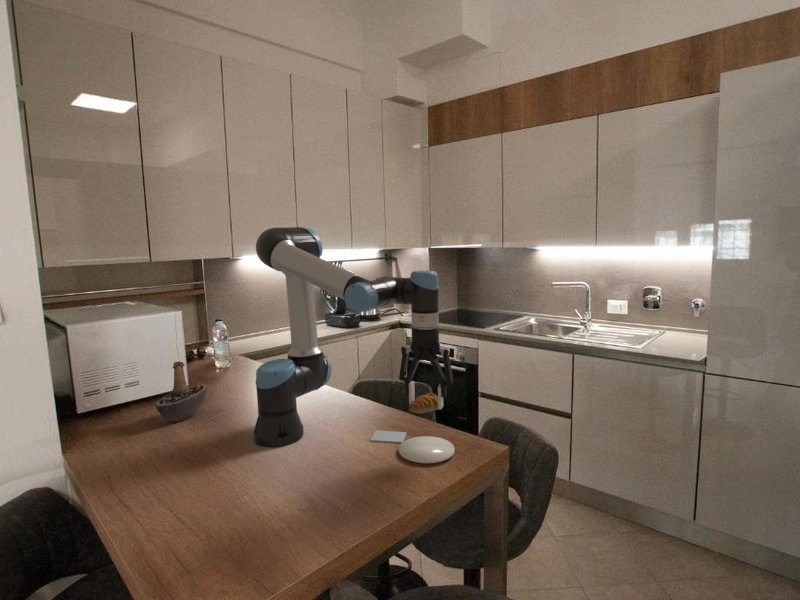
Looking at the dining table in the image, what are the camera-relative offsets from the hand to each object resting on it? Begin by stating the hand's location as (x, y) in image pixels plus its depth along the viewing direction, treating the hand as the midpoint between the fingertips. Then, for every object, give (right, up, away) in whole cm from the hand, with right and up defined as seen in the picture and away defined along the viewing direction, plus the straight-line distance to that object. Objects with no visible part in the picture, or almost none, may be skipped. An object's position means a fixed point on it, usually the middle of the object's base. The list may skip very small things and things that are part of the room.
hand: (426, 406), depth 134 cm
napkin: (-11, -12, +12) cm, 21 cm away
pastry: (0, -1, 0) cm, 1 cm away
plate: (0, -14, +2) cm, 14 cm away
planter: (-83, -11, +31) cm, 89 cm away
